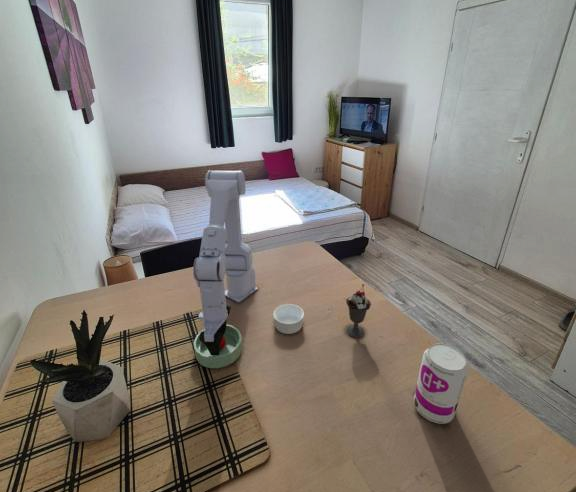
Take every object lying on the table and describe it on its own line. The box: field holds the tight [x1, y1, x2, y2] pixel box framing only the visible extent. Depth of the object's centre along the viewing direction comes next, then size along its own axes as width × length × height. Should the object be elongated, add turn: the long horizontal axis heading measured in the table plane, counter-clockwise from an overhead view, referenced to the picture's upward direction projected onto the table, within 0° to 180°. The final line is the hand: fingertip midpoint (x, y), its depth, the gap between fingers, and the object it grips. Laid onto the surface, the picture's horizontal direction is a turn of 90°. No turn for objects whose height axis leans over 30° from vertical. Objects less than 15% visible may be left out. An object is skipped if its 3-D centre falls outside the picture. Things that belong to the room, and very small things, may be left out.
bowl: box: [193, 323, 243, 369], centre depth 85 cm, size 12×12×4 cm
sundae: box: [345, 283, 372, 339], centre depth 90 cm, size 7×7×15 cm
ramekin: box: [272, 303, 305, 335], centre depth 94 cm, size 9×9×4 cm
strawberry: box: [220, 337, 226, 350], centre depth 85 cm, size 4×4×4 cm
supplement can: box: [413, 342, 469, 425], centre depth 68 cm, size 8×8×15 cm
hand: (218, 343), depth 85 cm, fingers open, 7 cm apart
